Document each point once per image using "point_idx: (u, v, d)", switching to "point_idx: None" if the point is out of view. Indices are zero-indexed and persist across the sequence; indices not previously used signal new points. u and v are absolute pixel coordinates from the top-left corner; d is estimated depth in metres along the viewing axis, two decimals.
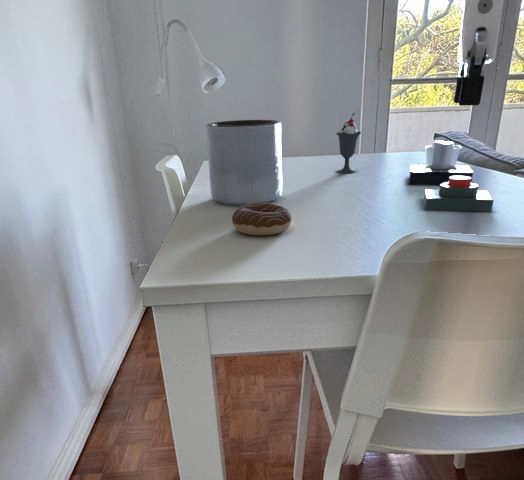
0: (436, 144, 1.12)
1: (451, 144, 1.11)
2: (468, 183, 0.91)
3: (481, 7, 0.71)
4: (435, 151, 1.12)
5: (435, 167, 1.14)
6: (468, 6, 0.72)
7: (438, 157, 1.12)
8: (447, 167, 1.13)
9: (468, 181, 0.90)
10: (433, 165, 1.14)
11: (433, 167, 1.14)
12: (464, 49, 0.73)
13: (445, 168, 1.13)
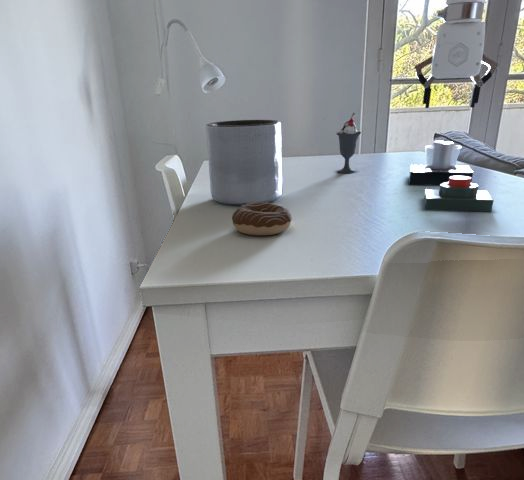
0: (436, 144, 1.12)
1: (451, 144, 1.11)
2: (468, 183, 0.91)
3: None
4: (435, 151, 1.12)
5: (435, 167, 1.14)
6: None
7: (438, 157, 1.12)
8: (447, 167, 1.13)
9: (468, 181, 0.90)
10: (433, 165, 1.14)
11: (433, 167, 1.14)
12: None
13: (445, 168, 1.13)
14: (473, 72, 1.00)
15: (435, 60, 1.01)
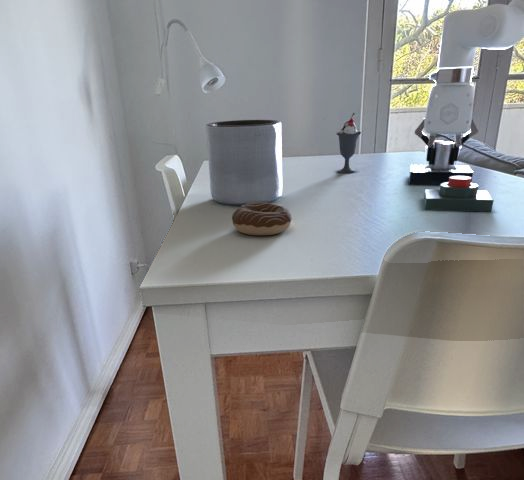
0: (436, 144, 1.12)
1: (451, 144, 1.11)
2: (468, 183, 0.91)
3: None
4: (435, 151, 1.12)
5: (435, 167, 1.14)
6: None
7: (438, 157, 1.12)
8: (447, 167, 1.13)
9: (468, 181, 0.90)
10: (433, 165, 1.14)
11: (433, 167, 1.14)
12: None
13: (445, 168, 1.13)
14: (463, 129, 1.07)
15: (428, 118, 1.08)
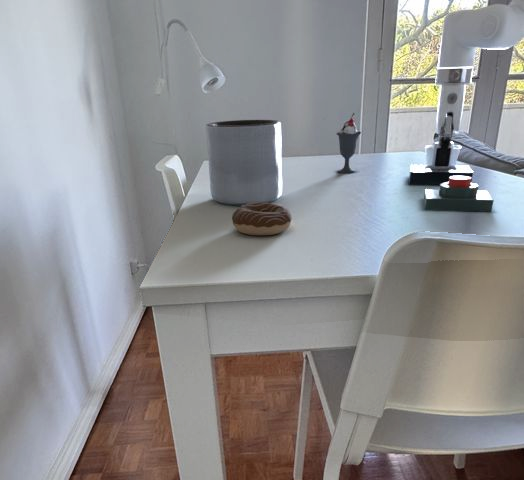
0: None
1: None
2: (468, 183, 0.91)
3: (449, 99, 1.04)
4: None
5: (448, 167, 1.13)
6: (441, 97, 1.05)
7: (450, 156, 1.12)
8: None
9: (468, 181, 0.90)
10: None
11: (446, 167, 1.13)
12: (438, 125, 1.07)
13: None
14: None
15: (461, 118, 1.05)
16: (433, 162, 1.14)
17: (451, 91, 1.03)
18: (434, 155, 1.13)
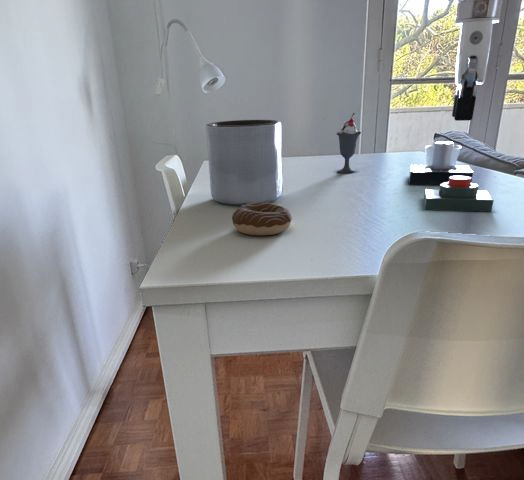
0: (449, 144, 1.10)
1: None
2: (468, 183, 0.91)
3: (473, 39, 0.84)
4: (448, 151, 1.11)
5: (448, 167, 1.13)
6: (462, 38, 0.85)
7: (450, 156, 1.12)
8: None
9: (468, 181, 0.90)
10: (445, 166, 1.13)
11: (446, 167, 1.13)
12: (459, 73, 0.87)
13: None
14: None
15: (486, 63, 0.85)
16: (433, 162, 1.14)
17: (475, 28, 0.83)
18: (434, 155, 1.13)
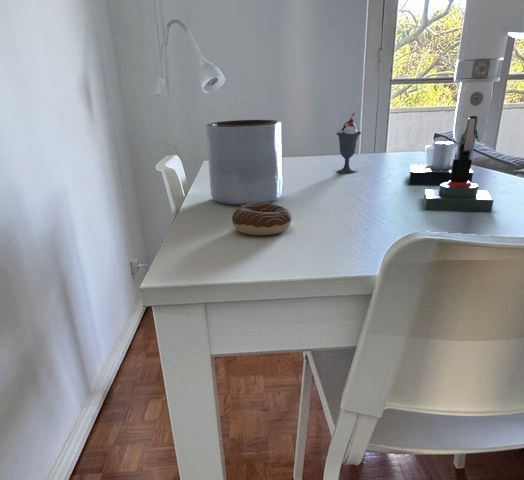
0: (449, 144, 1.10)
1: None
2: None
3: (473, 99, 0.82)
4: (448, 151, 1.11)
5: (448, 167, 1.13)
6: (462, 97, 0.82)
7: (450, 156, 1.12)
8: None
9: (468, 185, 0.91)
10: (445, 166, 1.13)
11: (446, 167, 1.13)
12: (458, 133, 0.84)
13: None
14: None
15: (487, 124, 0.82)
16: (433, 162, 1.14)
17: (475, 89, 0.80)
18: (434, 155, 1.13)
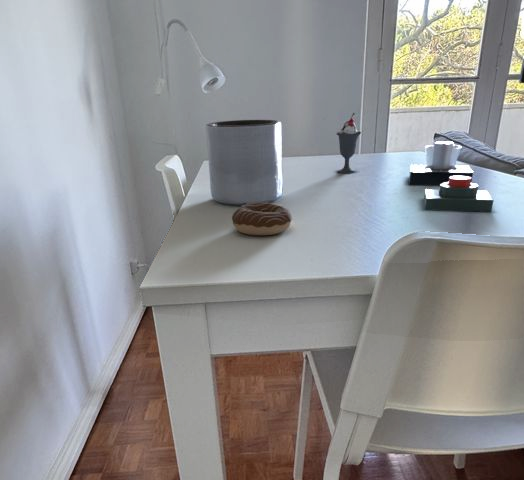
0: (449, 144, 1.10)
1: None
2: (468, 183, 0.91)
3: None
4: (448, 151, 1.11)
5: (448, 167, 1.13)
6: None
7: (450, 156, 1.12)
8: None
9: (468, 181, 0.90)
10: (445, 166, 1.13)
11: (446, 167, 1.13)
12: None
13: None
14: None
15: None
16: (433, 162, 1.14)
17: None
18: (434, 155, 1.13)
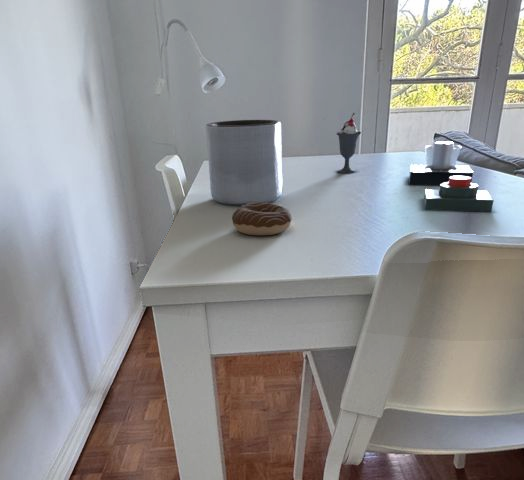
0: (449, 144, 1.10)
1: None
2: (468, 183, 0.91)
3: None
4: (448, 151, 1.11)
5: (448, 167, 1.13)
6: None
7: (450, 156, 1.12)
8: None
9: (468, 181, 0.90)
10: (445, 166, 1.13)
11: (446, 167, 1.13)
12: None
13: None
14: None
15: None
16: (433, 162, 1.14)
17: None
18: (434, 155, 1.13)
